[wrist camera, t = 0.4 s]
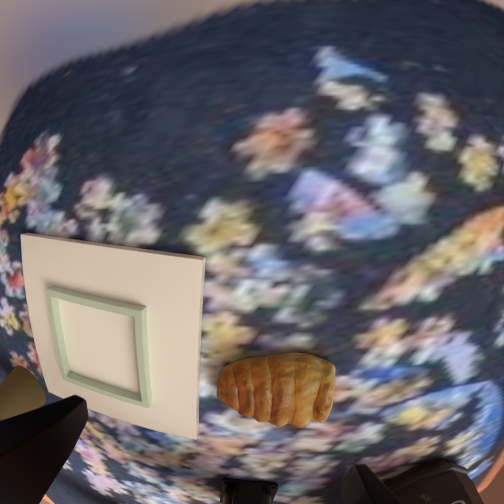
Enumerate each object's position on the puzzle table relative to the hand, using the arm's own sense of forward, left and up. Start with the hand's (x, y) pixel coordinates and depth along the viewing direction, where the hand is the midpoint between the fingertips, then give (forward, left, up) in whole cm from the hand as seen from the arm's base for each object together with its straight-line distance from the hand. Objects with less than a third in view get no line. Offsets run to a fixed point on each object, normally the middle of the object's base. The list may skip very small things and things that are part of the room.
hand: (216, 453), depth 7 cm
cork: (-17, +26, -15) cm, 35 cm away
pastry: (-8, -4, -15) cm, 17 cm away
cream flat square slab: (-6, +12, -14) cm, 20 cm away
